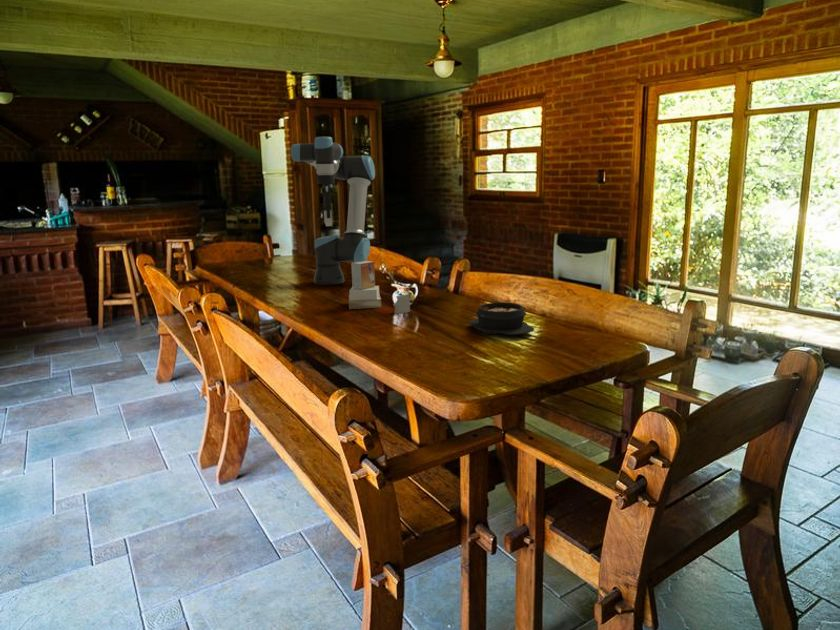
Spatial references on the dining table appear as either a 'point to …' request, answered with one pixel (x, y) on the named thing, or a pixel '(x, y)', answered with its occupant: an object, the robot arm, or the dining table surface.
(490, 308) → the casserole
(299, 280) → the dining table surface
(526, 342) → the dining table surface
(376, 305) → the tower base slab
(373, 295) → the tower top slab
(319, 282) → the robot arm
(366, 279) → the small box
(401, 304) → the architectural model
